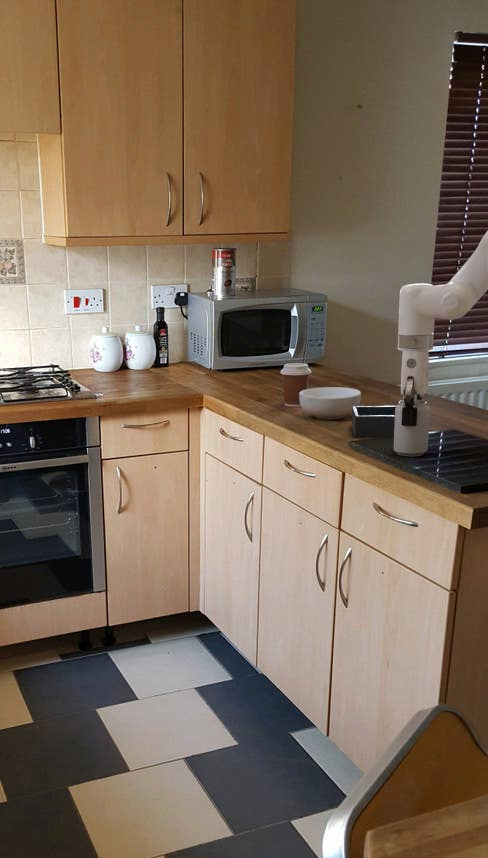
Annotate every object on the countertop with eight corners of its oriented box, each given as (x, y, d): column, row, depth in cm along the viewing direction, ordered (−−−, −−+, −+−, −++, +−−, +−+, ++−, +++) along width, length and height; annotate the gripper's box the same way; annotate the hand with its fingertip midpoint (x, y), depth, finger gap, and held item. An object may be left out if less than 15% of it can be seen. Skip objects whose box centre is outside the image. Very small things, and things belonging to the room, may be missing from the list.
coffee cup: (286, 401, 269) (287, 362, 265) (314, 403, 265) (316, 363, 261) (275, 406, 262) (275, 366, 258) (303, 408, 257) (304, 367, 253)
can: (386, 454, 200) (388, 402, 196) (405, 448, 205) (407, 397, 201) (415, 458, 195) (418, 405, 191) (433, 452, 200) (436, 400, 196)
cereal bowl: (287, 415, 249) (288, 390, 246) (338, 409, 254) (339, 385, 252) (319, 425, 234) (320, 399, 231) (372, 419, 239) (373, 393, 237)
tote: (404, 427, 228) (405, 405, 227) (410, 438, 216) (412, 415, 214) (351, 427, 230) (352, 406, 228) (354, 438, 218) (355, 416, 216)
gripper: (428, 347, 183) (423, 430, 189) (437, 338, 198) (433, 415, 204) (391, 347, 186) (388, 429, 191) (403, 338, 201) (400, 414, 206)
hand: (411, 421), depth 197 cm, fingers closed on can, 7 cm apart
